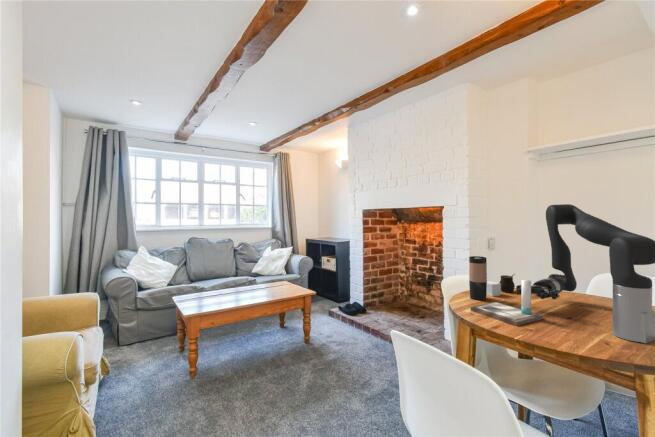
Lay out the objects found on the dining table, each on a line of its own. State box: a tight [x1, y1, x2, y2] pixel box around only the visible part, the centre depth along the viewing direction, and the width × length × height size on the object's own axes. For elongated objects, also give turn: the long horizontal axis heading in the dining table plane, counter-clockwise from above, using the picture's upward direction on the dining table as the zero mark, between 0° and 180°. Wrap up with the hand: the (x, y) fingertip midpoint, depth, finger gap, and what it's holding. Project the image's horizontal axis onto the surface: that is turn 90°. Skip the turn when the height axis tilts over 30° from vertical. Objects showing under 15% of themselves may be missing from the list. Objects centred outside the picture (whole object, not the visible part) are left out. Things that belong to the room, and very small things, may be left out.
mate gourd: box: [498, 273, 516, 293], centre depth 159 cm, size 7×8×10 cm
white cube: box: [486, 280, 502, 297], centre depth 154 cm, size 6×6×6 cm
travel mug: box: [468, 255, 488, 301], centre depth 147 cm, size 8×8×20 cm
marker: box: [520, 279, 532, 315], centre depth 120 cm, size 3×3×13 cm
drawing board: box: [470, 301, 544, 327], centre depth 124 cm, size 20×16×2 cm
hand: (529, 294), depth 122 cm, fingers open, 8 cm apart
